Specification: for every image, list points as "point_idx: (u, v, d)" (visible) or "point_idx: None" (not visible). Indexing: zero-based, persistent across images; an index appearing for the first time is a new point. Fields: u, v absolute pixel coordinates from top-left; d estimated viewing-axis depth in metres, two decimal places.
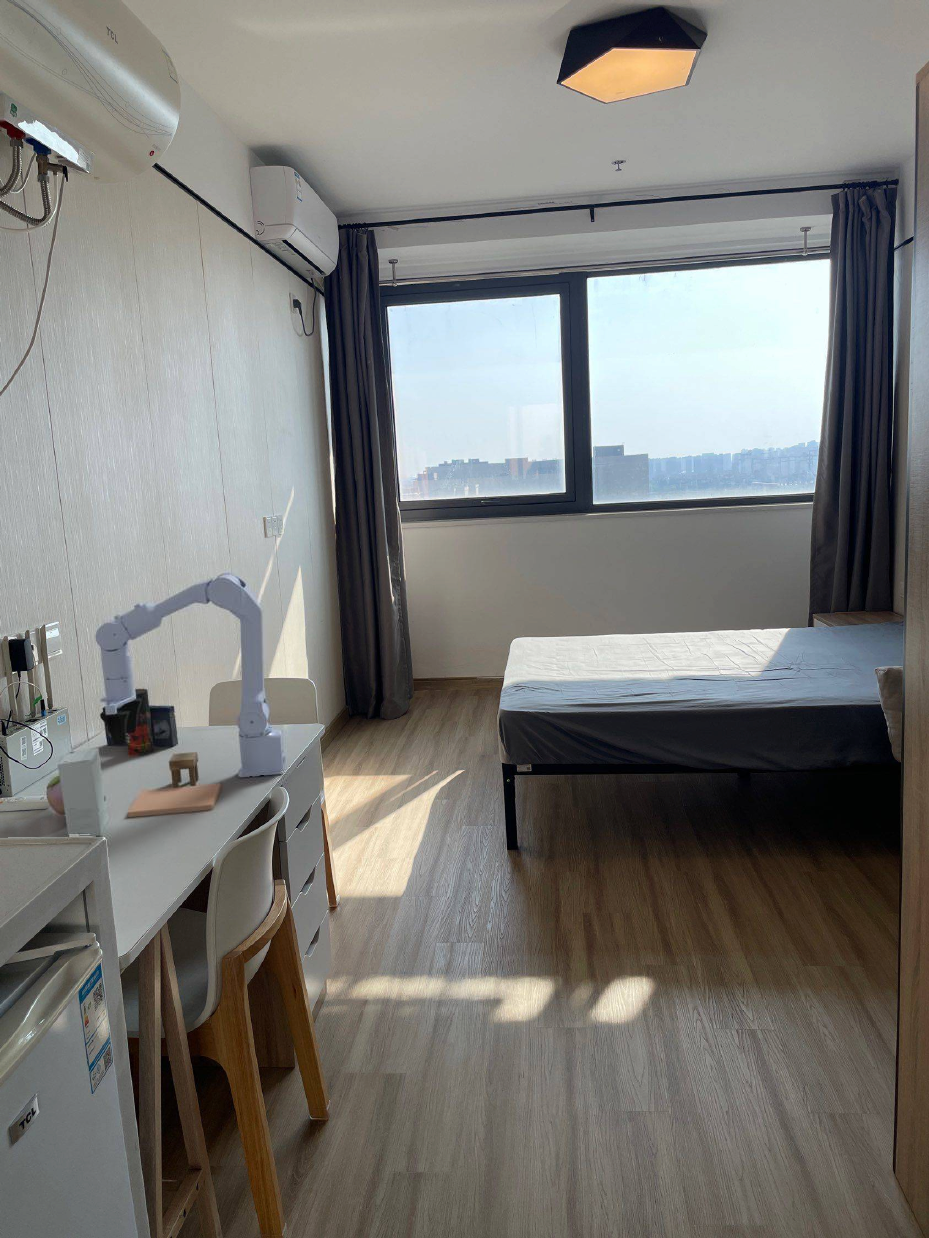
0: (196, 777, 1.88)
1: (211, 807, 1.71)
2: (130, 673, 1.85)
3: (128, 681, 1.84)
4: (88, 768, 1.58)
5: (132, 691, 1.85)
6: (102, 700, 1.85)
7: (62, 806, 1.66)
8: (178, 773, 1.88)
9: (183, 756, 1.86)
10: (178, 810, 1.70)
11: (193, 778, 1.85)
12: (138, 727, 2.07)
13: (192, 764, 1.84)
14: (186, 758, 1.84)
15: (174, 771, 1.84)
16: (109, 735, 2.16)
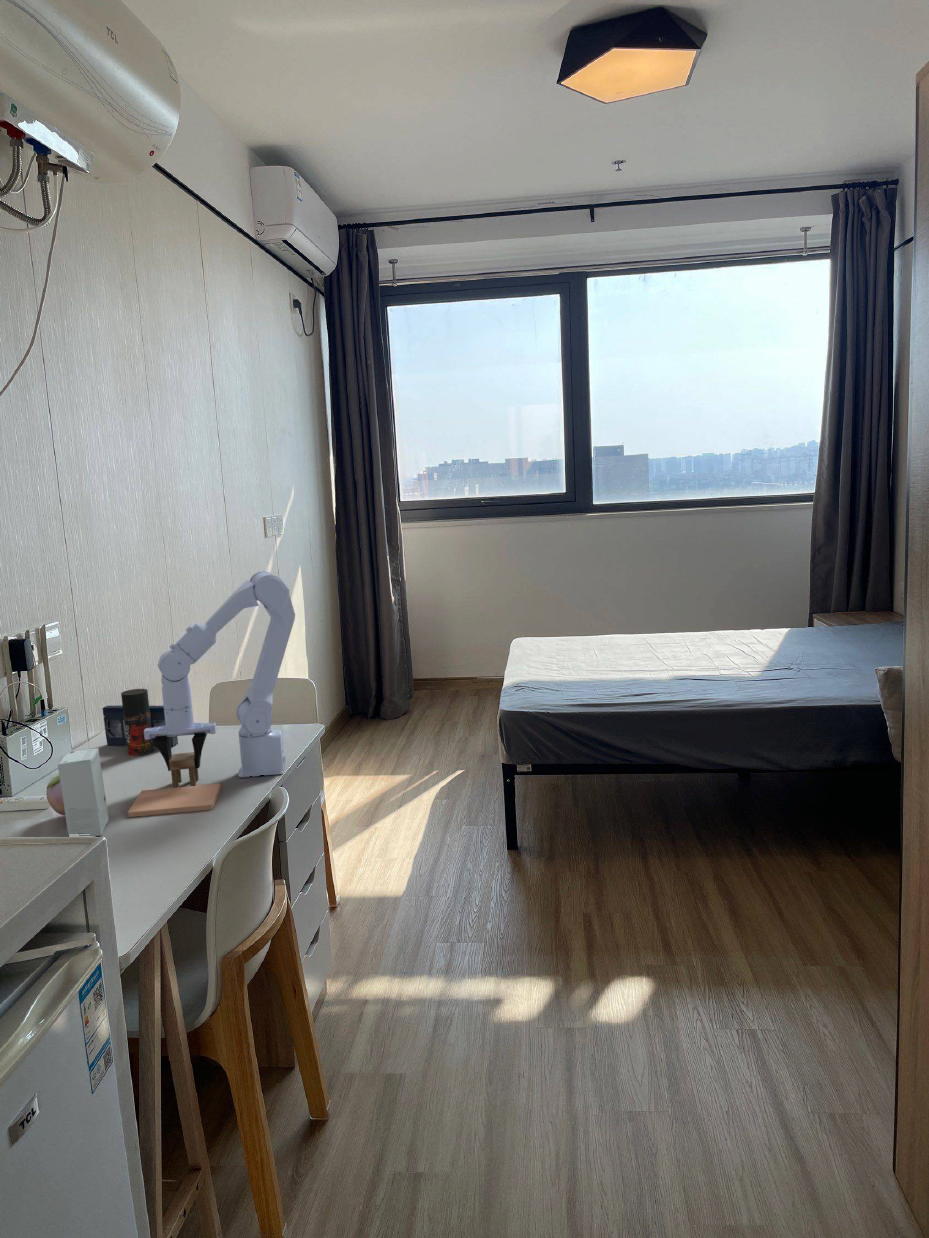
0: (196, 777, 1.88)
1: (211, 807, 1.71)
2: (191, 702, 1.84)
3: (169, 714, 1.82)
4: (88, 768, 1.58)
5: (174, 725, 1.82)
6: None
7: (62, 806, 1.66)
8: (178, 773, 1.88)
9: (183, 756, 1.86)
10: (178, 810, 1.70)
11: (193, 778, 1.85)
12: (138, 727, 2.07)
13: (192, 764, 1.84)
14: (186, 758, 1.84)
15: (174, 771, 1.84)
16: (109, 735, 2.16)
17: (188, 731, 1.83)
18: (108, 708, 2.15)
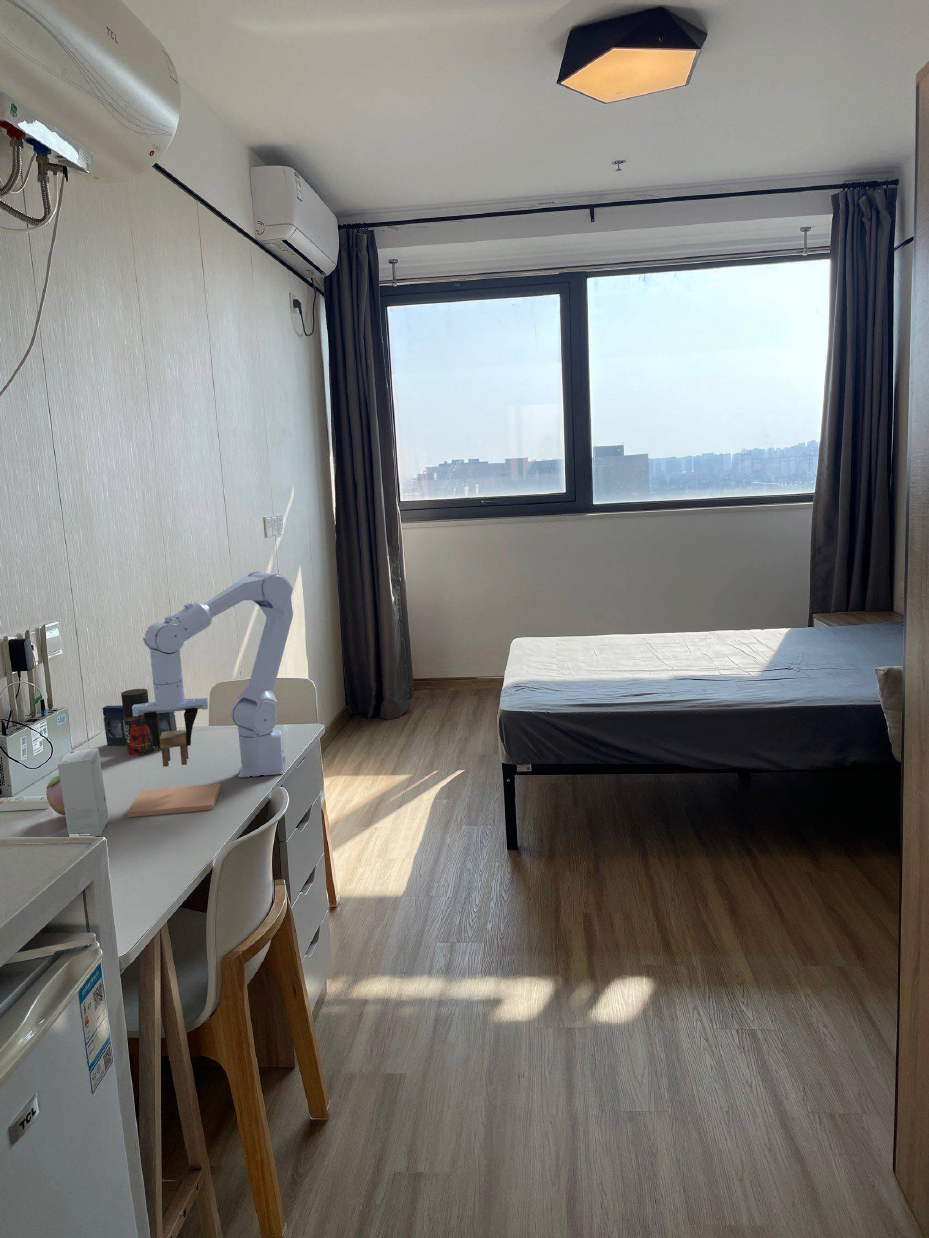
0: (186, 756, 1.81)
1: (211, 807, 1.71)
2: None
3: (160, 689, 1.74)
4: (88, 768, 1.58)
5: (165, 700, 1.74)
6: None
7: (62, 806, 1.66)
8: (167, 752, 1.80)
9: (173, 733, 1.79)
10: (178, 810, 1.70)
11: (185, 756, 1.77)
12: (138, 727, 2.07)
13: (184, 741, 1.77)
14: (177, 735, 1.77)
15: (165, 749, 1.76)
16: (109, 735, 2.16)
17: (180, 706, 1.75)
18: (108, 708, 2.15)
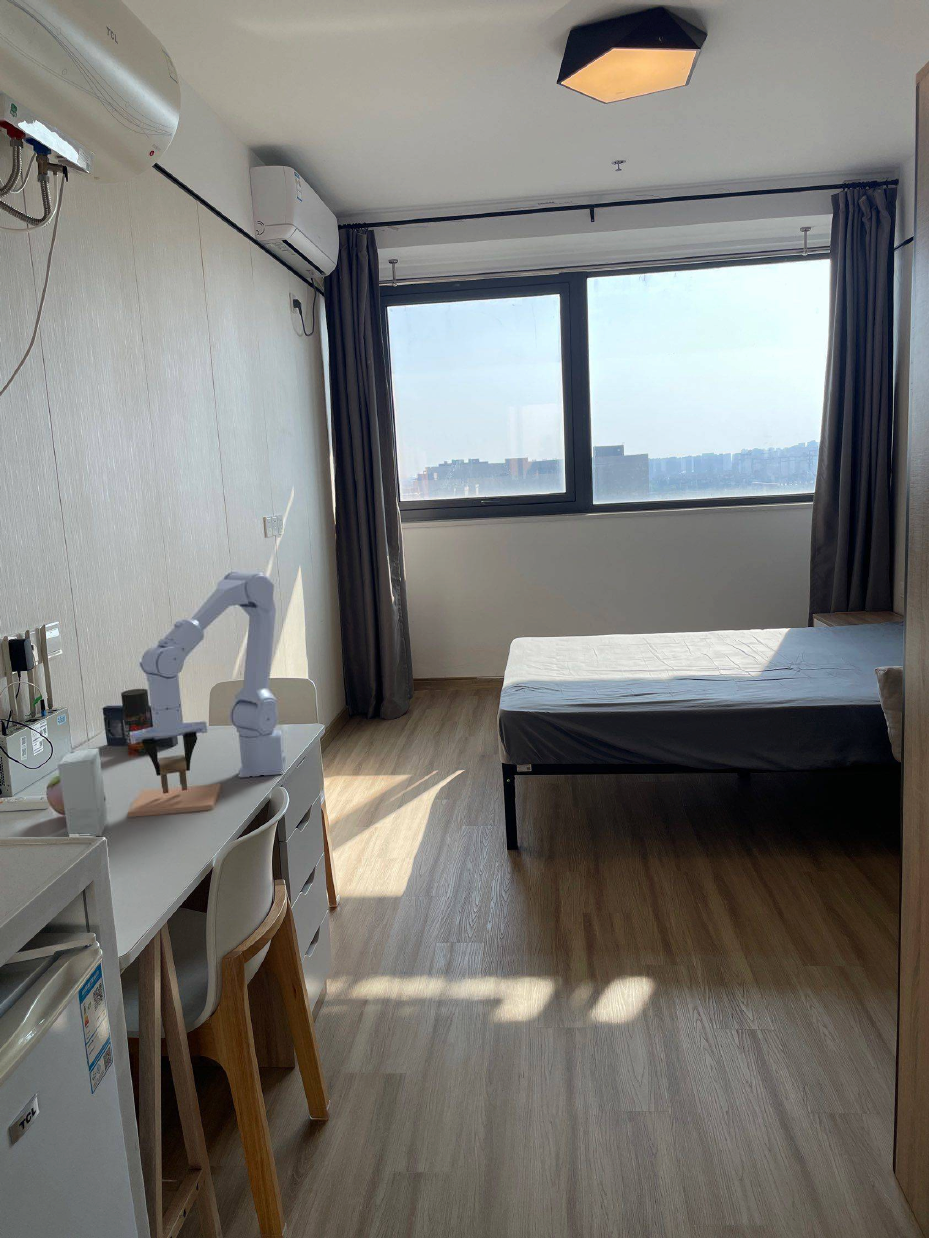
0: None
1: (211, 807, 1.71)
2: None
3: (160, 714, 1.70)
4: (88, 768, 1.58)
5: (166, 726, 1.71)
6: None
7: (62, 806, 1.66)
8: None
9: (171, 759, 1.75)
10: (178, 810, 1.70)
11: (185, 781, 1.74)
12: (138, 727, 2.07)
13: (185, 767, 1.74)
14: (177, 761, 1.74)
15: (165, 775, 1.73)
16: (109, 735, 2.16)
17: (180, 731, 1.72)
18: (108, 708, 2.15)
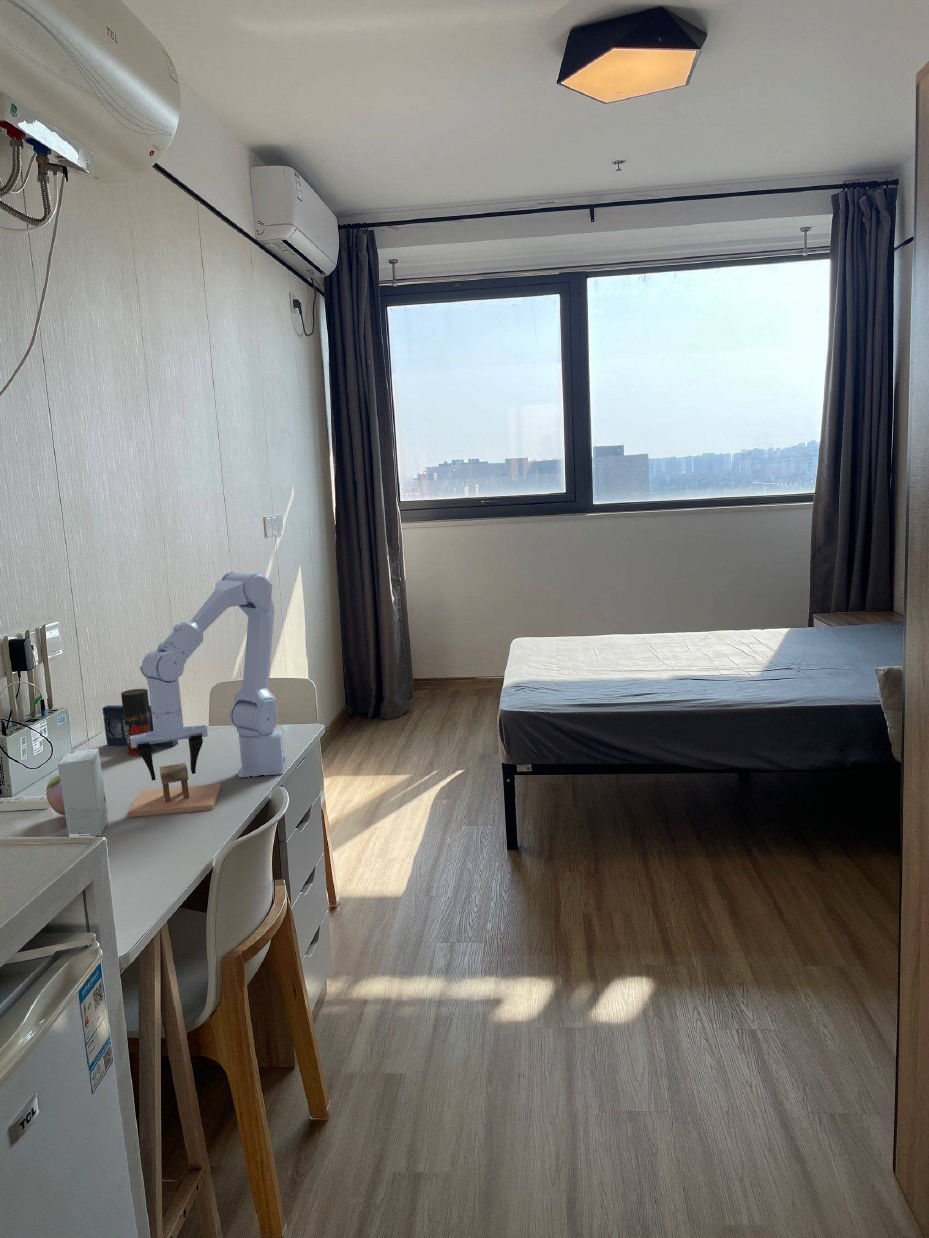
0: None
1: (211, 807, 1.71)
2: None
3: (160, 718, 1.70)
4: (88, 768, 1.58)
5: (166, 730, 1.71)
6: None
7: (62, 806, 1.66)
8: None
9: (173, 767, 1.76)
10: (178, 810, 1.70)
11: (187, 790, 1.75)
12: (138, 727, 2.07)
13: (186, 775, 1.74)
14: (178, 769, 1.74)
15: (167, 784, 1.73)
16: (109, 735, 2.16)
17: (181, 735, 1.72)
18: (108, 708, 2.15)
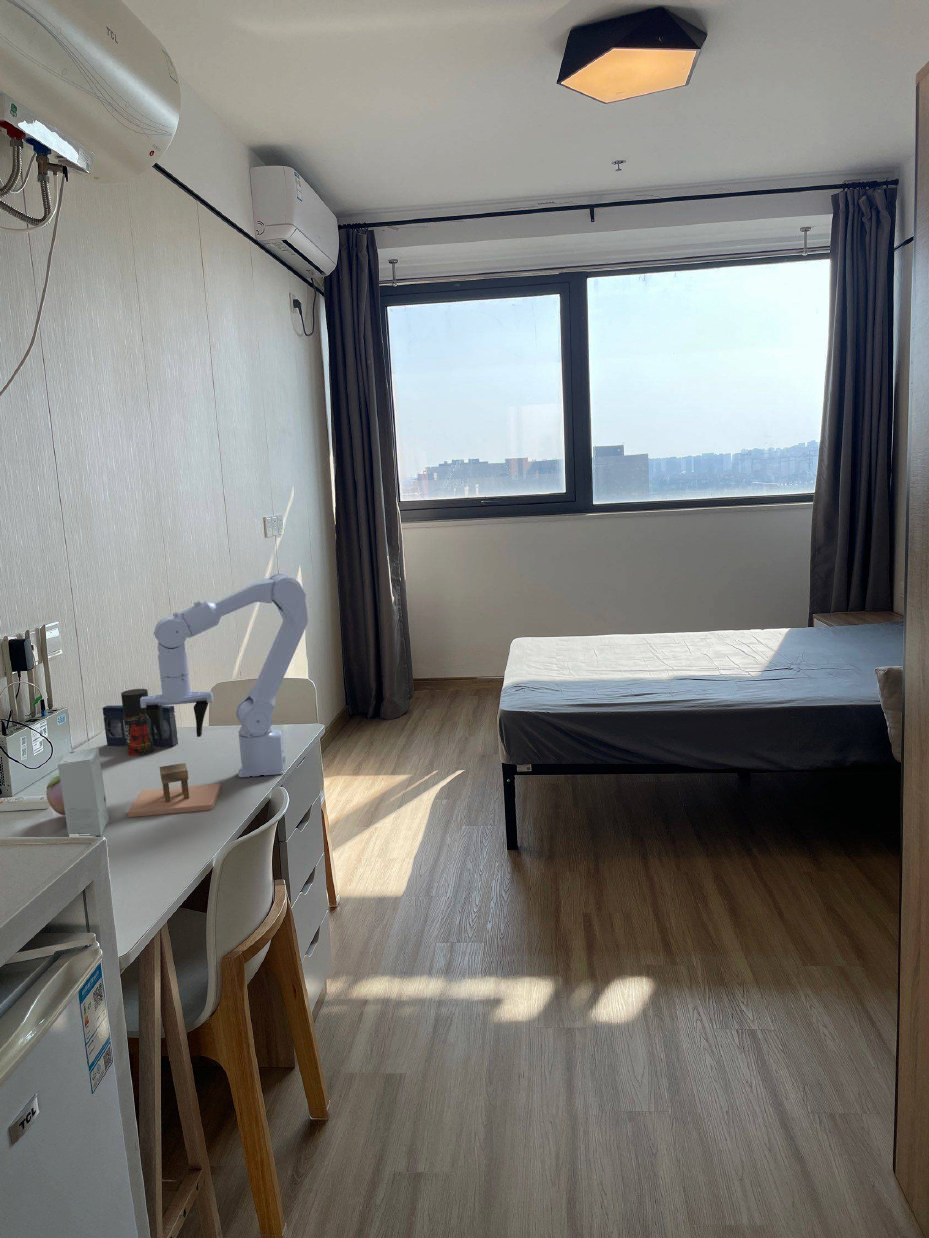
0: None
1: (211, 807, 1.71)
2: None
3: (165, 682, 1.80)
4: (88, 768, 1.58)
5: (171, 693, 1.80)
6: None
7: (62, 806, 1.66)
8: None
9: (173, 767, 1.76)
10: (178, 810, 1.70)
11: (187, 790, 1.75)
12: (138, 727, 2.07)
13: (186, 775, 1.74)
14: (178, 769, 1.74)
15: (167, 784, 1.73)
16: (109, 735, 2.16)
17: (185, 699, 1.81)
18: (108, 708, 2.15)
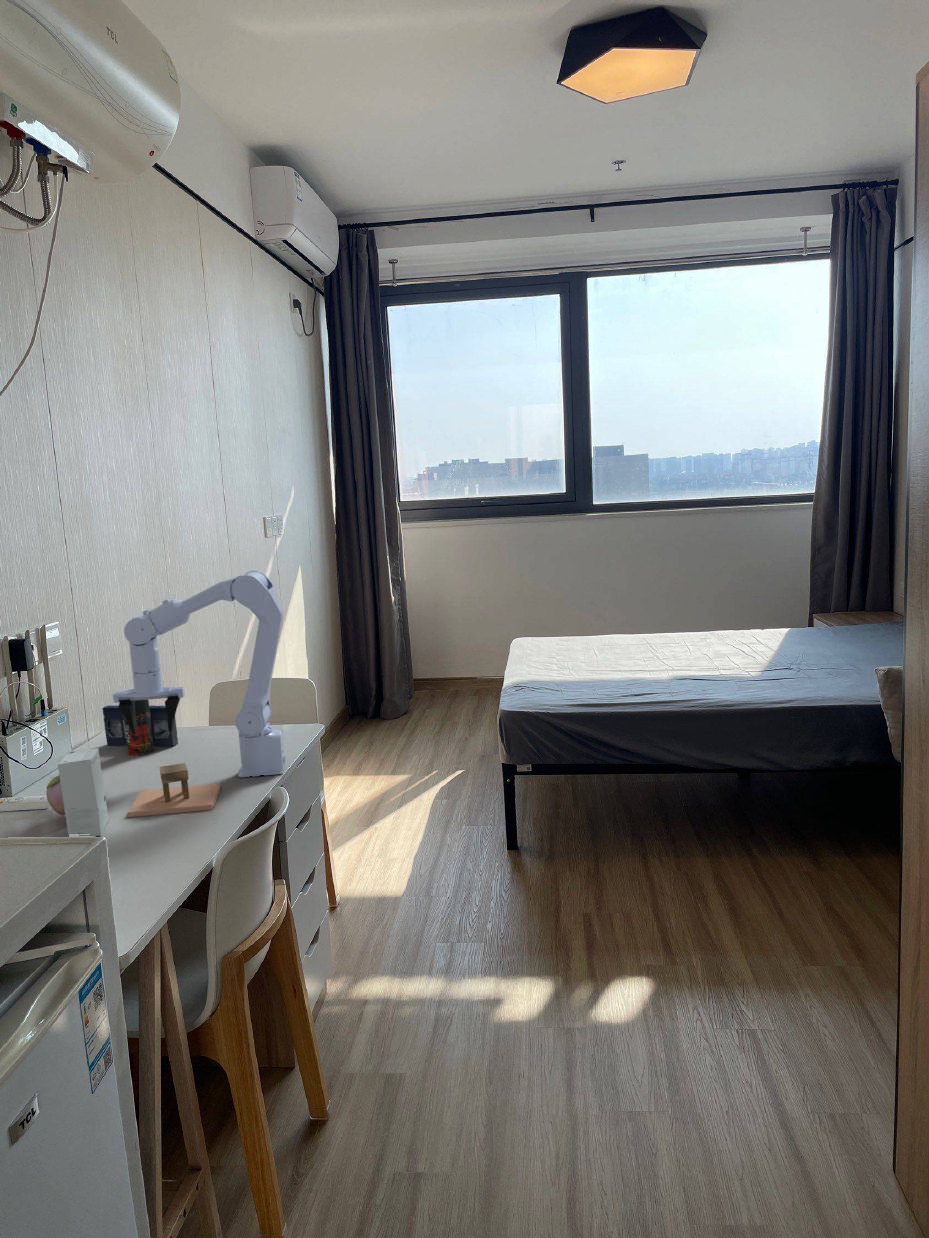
0: None
1: (211, 807, 1.71)
2: (158, 668, 1.87)
3: (137, 677, 1.85)
4: (88, 768, 1.58)
5: (142, 689, 1.86)
6: None
7: (62, 806, 1.66)
8: None
9: (173, 767, 1.76)
10: (178, 810, 1.70)
11: (187, 790, 1.75)
12: (138, 727, 2.07)
13: (186, 775, 1.74)
14: (178, 769, 1.74)
15: (167, 784, 1.73)
16: (109, 735, 2.16)
17: (156, 694, 1.86)
18: (108, 708, 2.15)
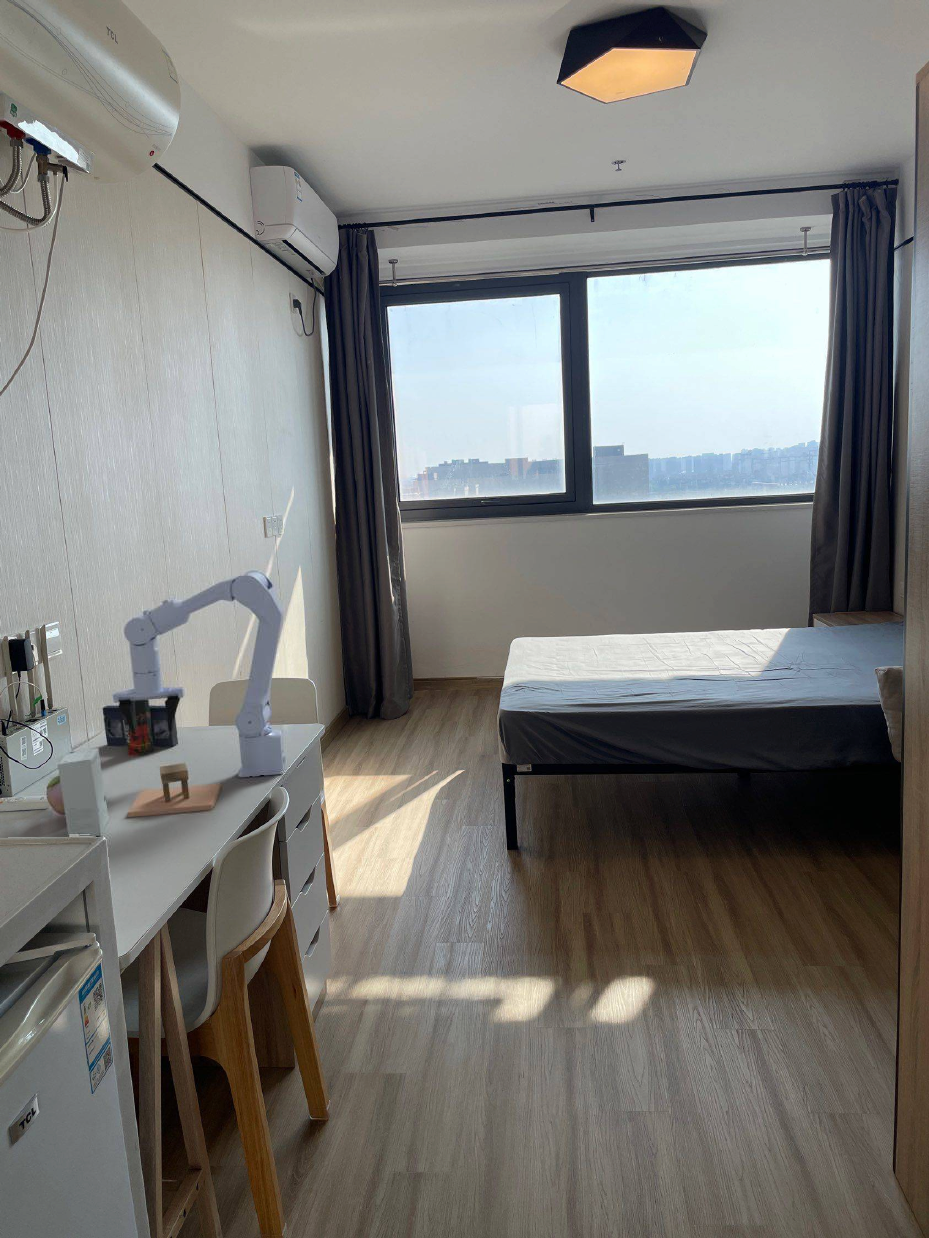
0: None
1: (211, 807, 1.71)
2: (158, 668, 1.87)
3: (137, 677, 1.85)
4: (88, 768, 1.58)
5: (142, 689, 1.86)
6: None
7: (62, 806, 1.66)
8: None
9: (173, 767, 1.76)
10: (178, 810, 1.70)
11: (187, 790, 1.75)
12: (138, 727, 2.07)
13: (186, 775, 1.74)
14: (178, 769, 1.74)
15: (167, 784, 1.73)
16: (109, 735, 2.16)
17: (156, 694, 1.86)
18: (108, 708, 2.15)
